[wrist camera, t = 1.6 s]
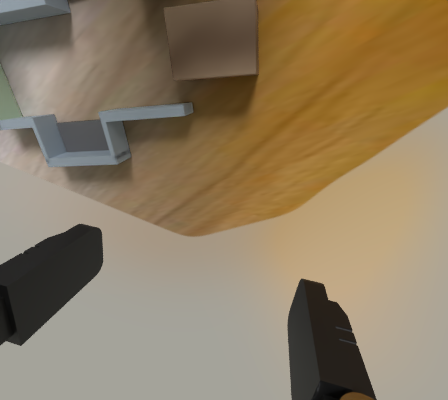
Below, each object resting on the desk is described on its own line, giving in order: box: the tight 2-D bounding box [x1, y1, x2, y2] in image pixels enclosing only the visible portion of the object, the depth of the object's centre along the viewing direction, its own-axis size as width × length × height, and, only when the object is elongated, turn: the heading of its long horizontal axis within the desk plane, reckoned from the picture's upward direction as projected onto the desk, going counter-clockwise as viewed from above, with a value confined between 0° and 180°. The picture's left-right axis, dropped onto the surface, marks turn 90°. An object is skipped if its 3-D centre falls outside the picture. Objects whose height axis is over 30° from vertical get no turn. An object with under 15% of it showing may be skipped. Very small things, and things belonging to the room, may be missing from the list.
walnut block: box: [163, 0, 259, 80], centre depth 21 cm, size 5×7×4 cm
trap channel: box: [0, 0, 193, 167], centre depth 24 cm, size 20×22×3 cm
